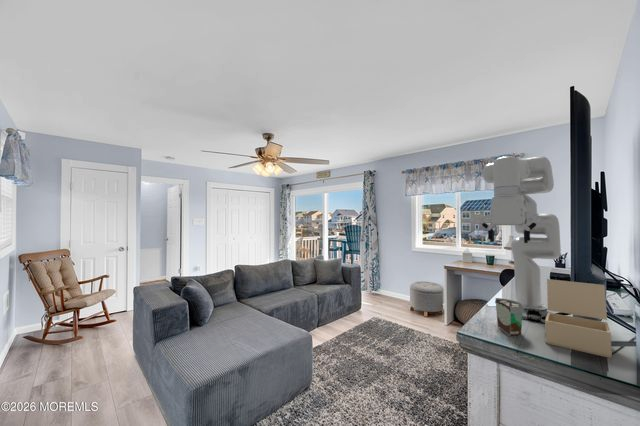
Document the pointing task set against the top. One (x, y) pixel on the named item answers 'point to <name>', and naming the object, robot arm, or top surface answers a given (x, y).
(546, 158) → the robot arm
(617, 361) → the top surface
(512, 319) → the food container
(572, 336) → the carton
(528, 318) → the black box
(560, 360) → the top surface
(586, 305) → the lid
